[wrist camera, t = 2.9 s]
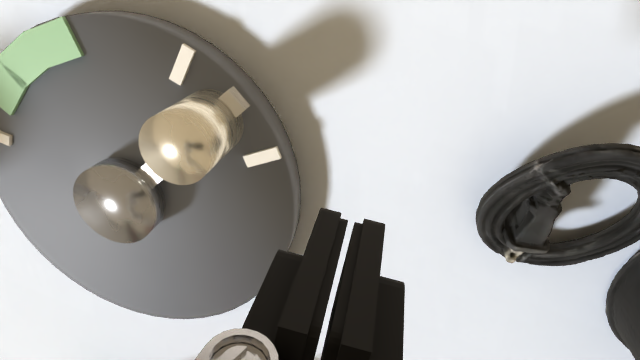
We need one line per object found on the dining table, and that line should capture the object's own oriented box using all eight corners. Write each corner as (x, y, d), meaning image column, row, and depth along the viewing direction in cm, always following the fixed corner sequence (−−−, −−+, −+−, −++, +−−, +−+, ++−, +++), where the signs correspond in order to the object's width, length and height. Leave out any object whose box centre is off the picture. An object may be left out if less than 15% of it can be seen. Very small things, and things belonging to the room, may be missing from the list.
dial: (329, 55, 19) (321, 63, 18) (277, 333, 28) (270, 354, 26) (-25, -24, 21) (-59, -24, 20) (27, 260, 29) (7, 276, 28)
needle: (133, 243, 24) (90, 285, 21) (74, 185, 23) (19, 220, 20) (274, 134, 19) (247, 166, 16) (207, 55, 18) (164, 73, 15)
